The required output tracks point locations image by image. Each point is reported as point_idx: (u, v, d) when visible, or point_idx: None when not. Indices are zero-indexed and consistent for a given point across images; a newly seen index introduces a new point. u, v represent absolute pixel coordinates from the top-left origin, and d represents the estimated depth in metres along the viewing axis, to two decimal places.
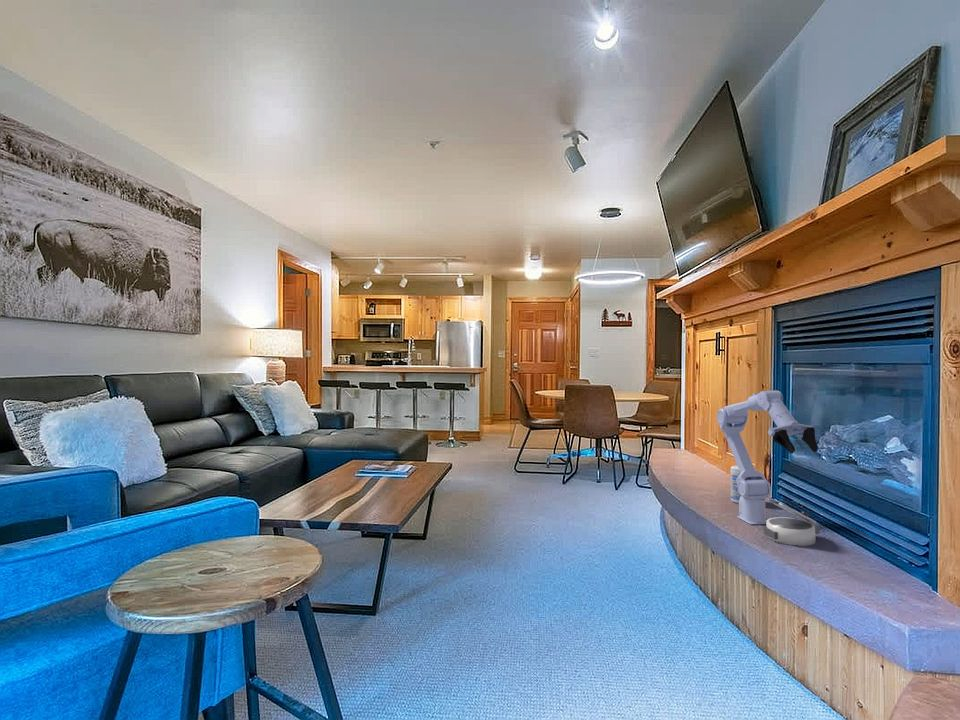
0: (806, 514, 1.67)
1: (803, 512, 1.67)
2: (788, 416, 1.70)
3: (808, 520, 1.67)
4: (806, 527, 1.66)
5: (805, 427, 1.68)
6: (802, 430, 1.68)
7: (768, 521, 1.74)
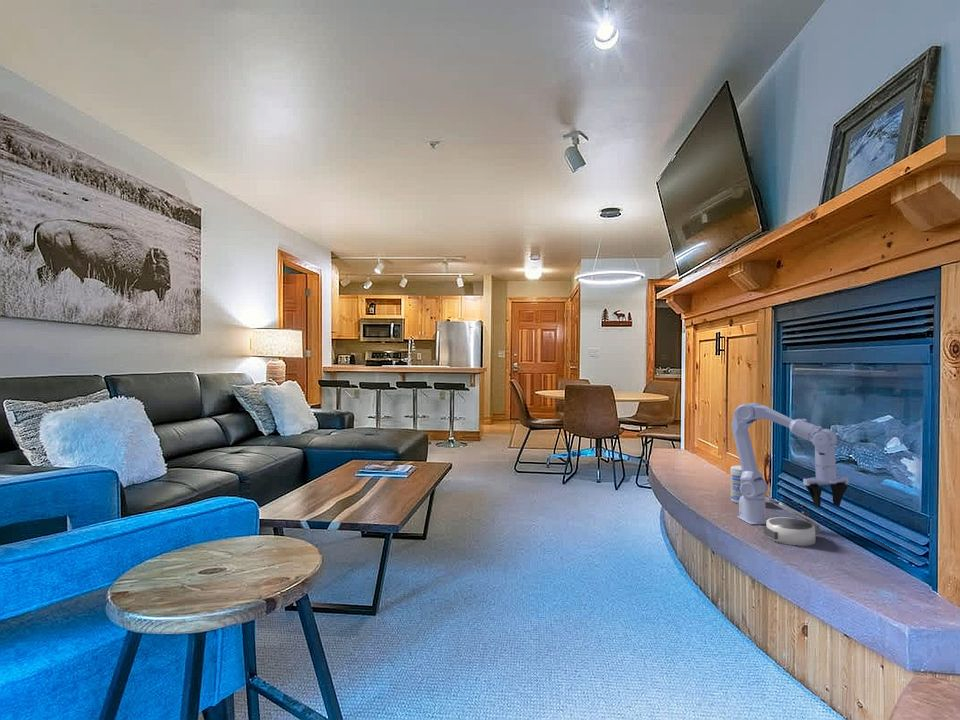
0: (806, 514, 1.67)
1: (803, 512, 1.67)
2: (831, 471, 1.69)
3: (808, 520, 1.67)
4: (806, 527, 1.66)
5: None
6: (836, 482, 1.72)
7: (768, 521, 1.74)
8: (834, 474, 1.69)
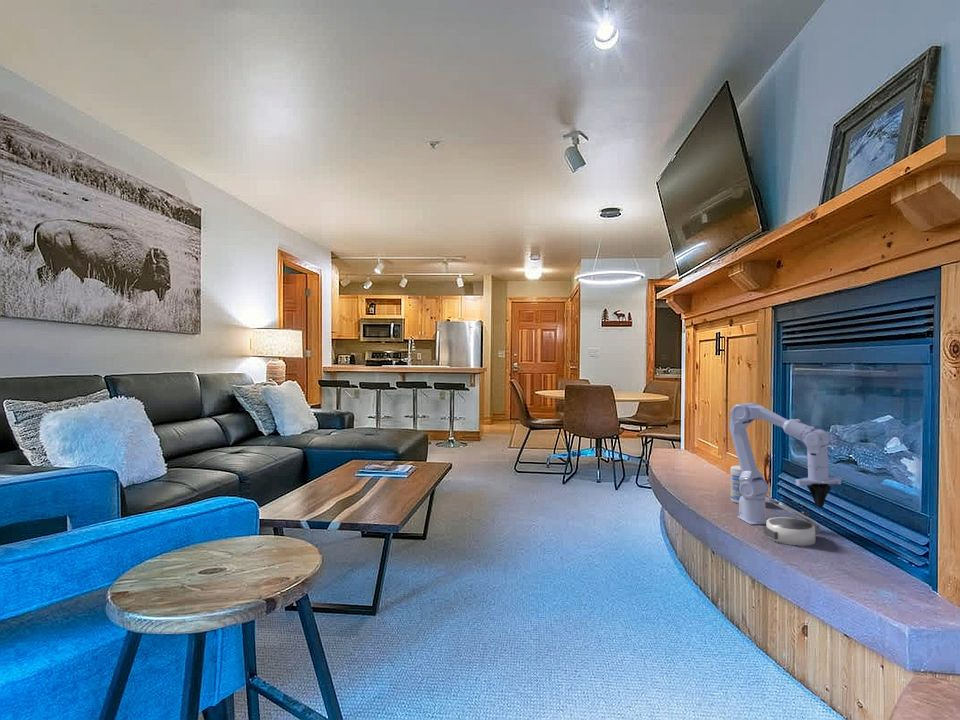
0: (806, 514, 1.67)
1: (803, 512, 1.67)
2: (823, 471, 1.69)
3: (808, 520, 1.67)
4: (806, 527, 1.66)
5: None
6: (829, 482, 1.72)
7: (768, 521, 1.74)
8: (826, 474, 1.69)
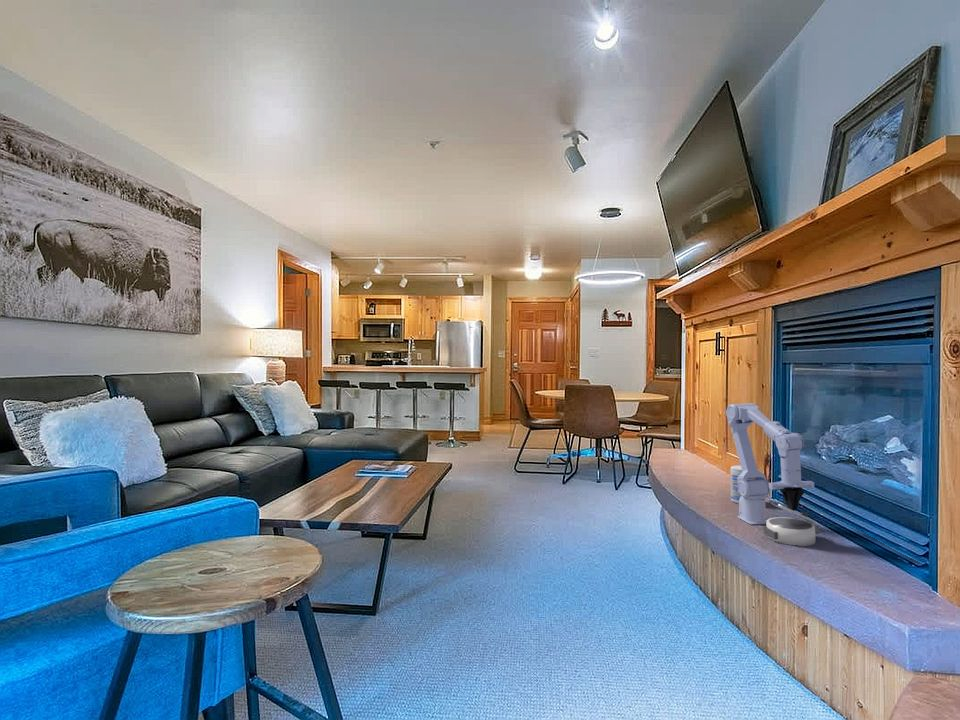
0: (806, 514, 1.66)
1: (803, 513, 1.67)
2: (796, 475, 1.69)
3: (808, 520, 1.67)
4: (806, 527, 1.66)
5: None
6: (802, 486, 1.71)
7: (768, 521, 1.74)
8: (799, 478, 1.69)
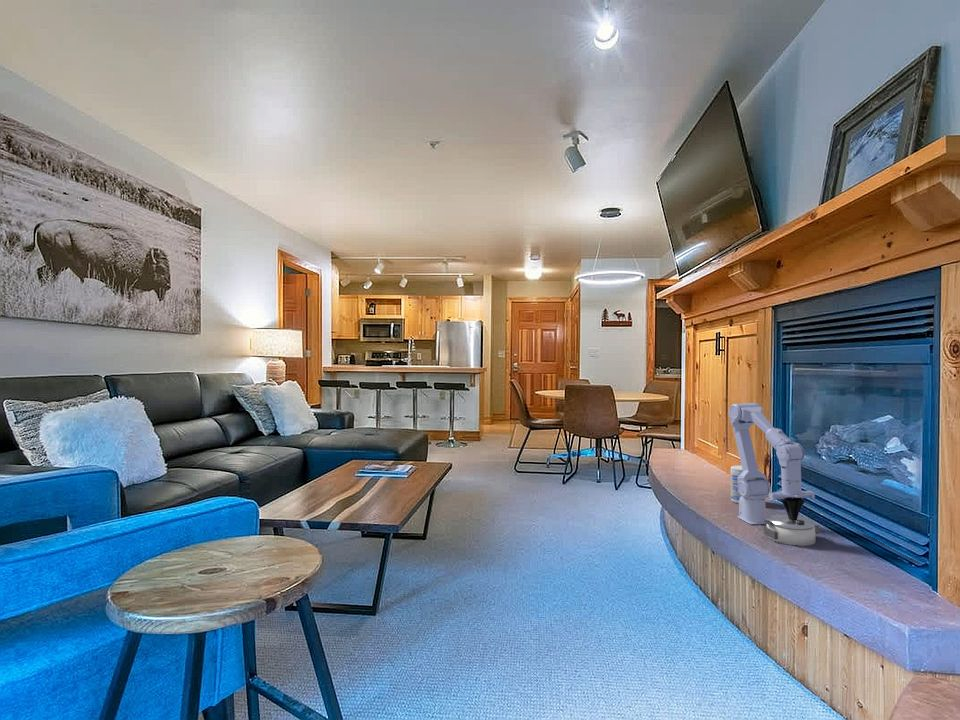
0: (802, 523, 1.66)
1: (798, 522, 1.67)
2: (796, 485, 1.69)
3: None
4: None
5: None
6: (802, 496, 1.71)
7: None
8: (800, 488, 1.69)
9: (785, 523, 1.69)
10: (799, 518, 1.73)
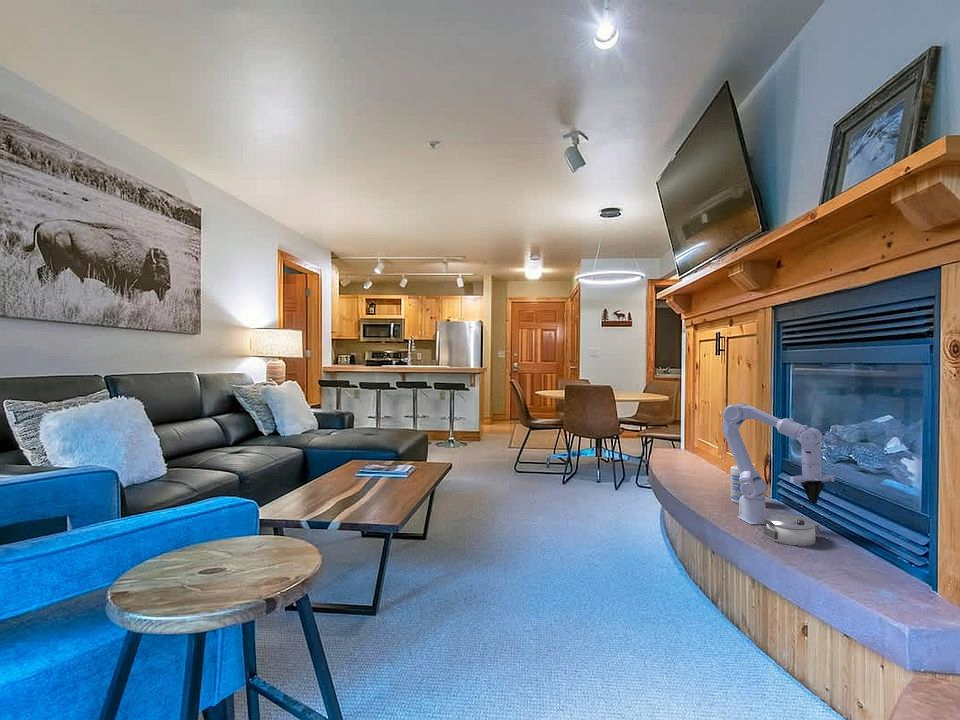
0: (802, 523, 1.66)
1: (798, 522, 1.67)
2: (817, 469, 1.73)
3: None
4: None
5: None
6: (822, 479, 1.76)
7: None
8: (820, 472, 1.73)
9: (785, 523, 1.69)
10: (799, 518, 1.73)
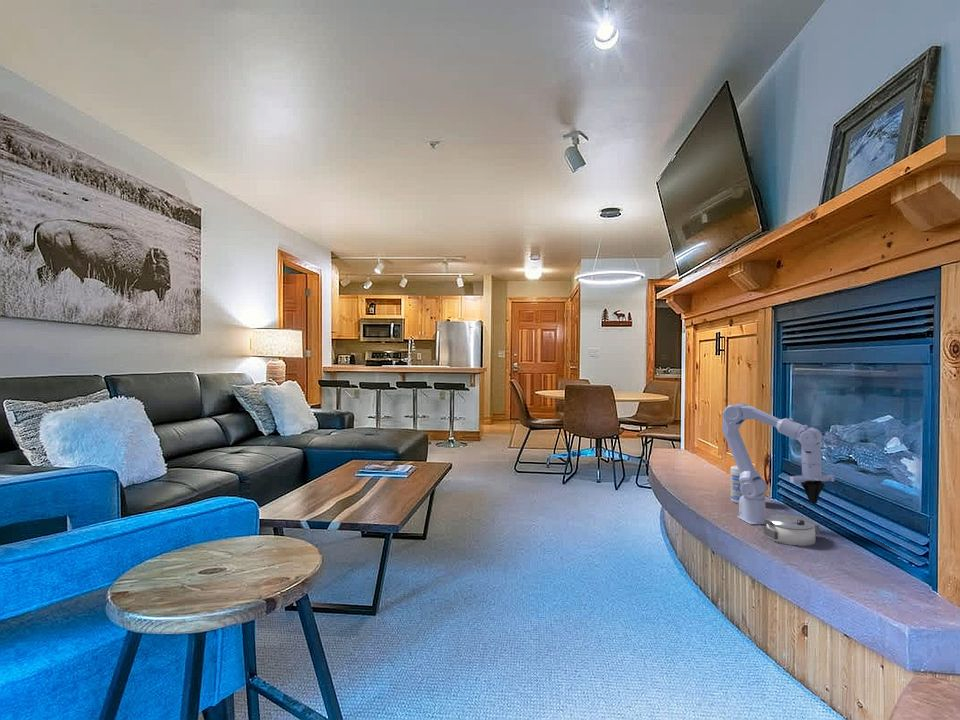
0: (802, 523, 1.66)
1: (798, 522, 1.67)
2: (817, 468, 1.73)
3: None
4: None
5: None
6: (822, 479, 1.76)
7: None
8: (820, 472, 1.73)
9: (785, 523, 1.69)
10: (799, 518, 1.73)
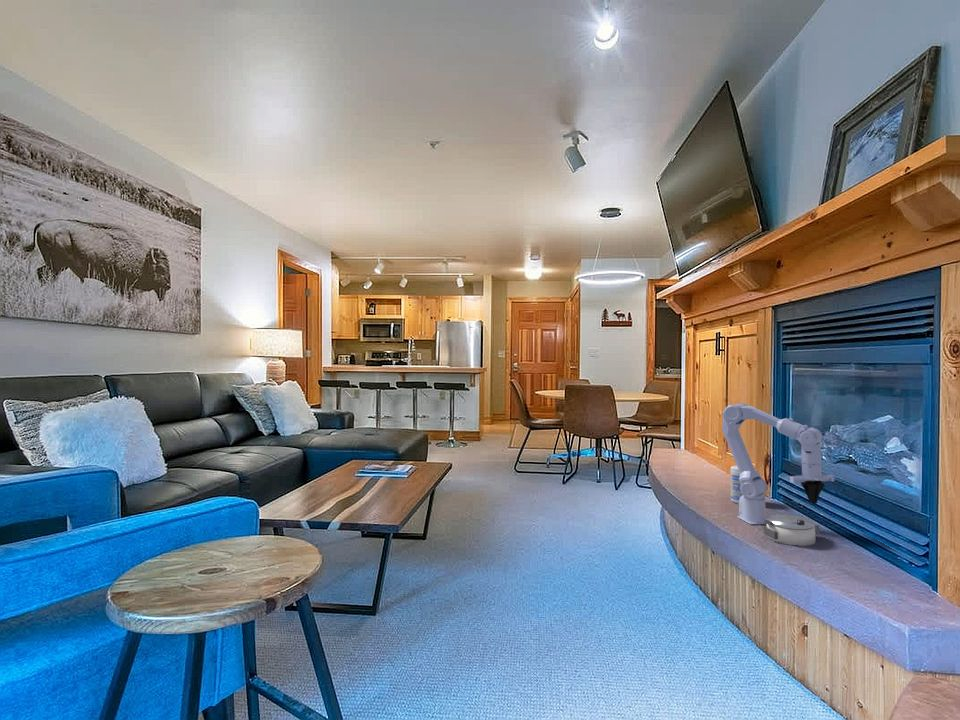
0: (802, 523, 1.66)
1: (798, 522, 1.67)
2: (817, 468, 1.73)
3: None
4: None
5: None
6: (822, 479, 1.76)
7: None
8: (820, 472, 1.73)
9: (785, 523, 1.69)
10: (799, 518, 1.73)
